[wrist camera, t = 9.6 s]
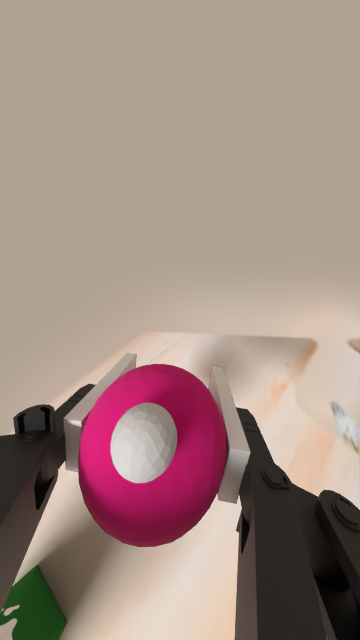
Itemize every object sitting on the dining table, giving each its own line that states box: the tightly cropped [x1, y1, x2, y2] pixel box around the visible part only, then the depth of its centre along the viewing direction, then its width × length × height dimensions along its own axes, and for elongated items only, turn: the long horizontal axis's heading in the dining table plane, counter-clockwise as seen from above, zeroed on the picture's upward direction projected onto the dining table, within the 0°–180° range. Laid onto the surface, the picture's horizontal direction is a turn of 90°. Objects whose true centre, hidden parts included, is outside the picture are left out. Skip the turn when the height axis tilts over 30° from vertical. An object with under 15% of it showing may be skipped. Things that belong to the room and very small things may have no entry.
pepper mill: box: [78, 364, 227, 547], centre depth 12 cm, size 7×7×20 cm
